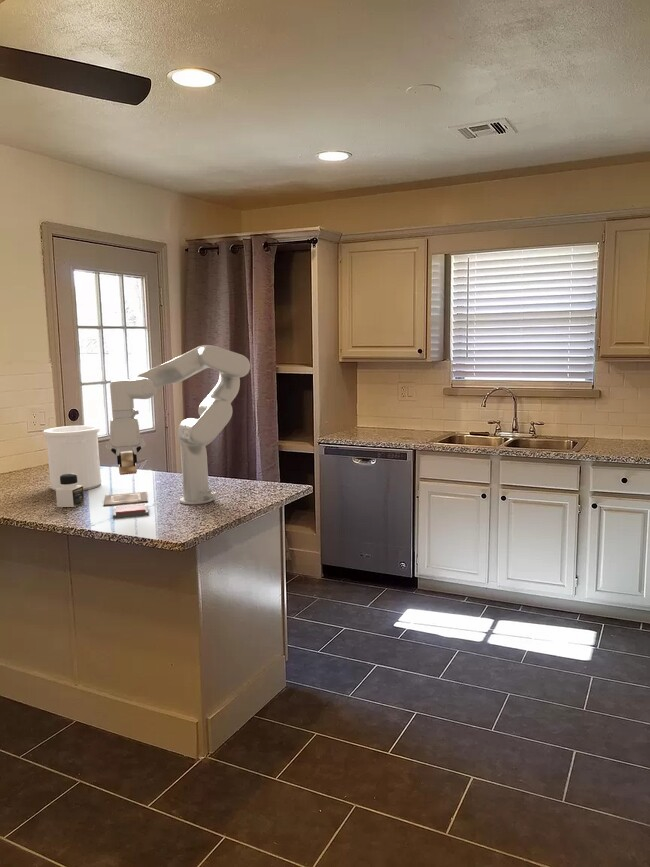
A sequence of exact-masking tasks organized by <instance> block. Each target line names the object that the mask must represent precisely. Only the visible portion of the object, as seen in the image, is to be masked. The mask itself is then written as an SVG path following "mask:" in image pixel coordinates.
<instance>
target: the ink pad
mask: <svg viewBox="0 0 650 867" xmlns="http://www.w3.org/2000/svg"><path fill="white" fill-rule="evenodd" d="M149 512H150V511H149V506H148V505H146V504H145V503H140V504H132V505H131V504H129V505H122V506H121V505H119V506H116V507H115V508H114V507H113V512H112V519H113V518H116V519H125V517H126V518H135V517H136V516H137V517H145V515H147V516H150V514H149Z"/></svg>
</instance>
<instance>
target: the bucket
mask: <svg viewBox="0 0 650 867" xmlns="http://www.w3.org/2000/svg"><path fill="white" fill-rule="evenodd" d="M99 432H100V426H97V425H89V424H88V425H83V424H82V425H68V426H67V425H66V426H58V427H52V428H47V429H44V430H43V432H42V434H43V436H44V437H45V438H46V450H47V461H48V462H47V463H48V472H49V484H50V485H49V486H50V488H51V490H52V491H54V492H56V489H57V488H60V487H62V486H61V484H60V476H61V475H63V474H76V475H77V482H78V484H77V485H82V486H83V491H87V490H92V489H95V488H98V487H99V486H100V485H101V484H102V477H101V476H102V475H101V464H100V463H101V462H100V450H99V449H100V448H99V439H98V437H99V436H98V433H99Z"/></svg>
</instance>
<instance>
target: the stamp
mask: <svg viewBox="0 0 650 867" xmlns="http://www.w3.org/2000/svg"><path fill="white" fill-rule="evenodd" d="M120 455H121V463H122V466H121V467H120V464H118V471H119V472H118V474H119V476H122V475H123V476H124V475H135V474H137V473H138V468H137V463H135V466H134V465H133V450H125V451H120Z"/></svg>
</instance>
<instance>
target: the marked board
mask: <svg viewBox="0 0 650 867" xmlns="http://www.w3.org/2000/svg"><path fill="white" fill-rule="evenodd" d="M147 492H148V491H141V492H140V491H139V492H130V493H127V492H126V493H118V494H108V495H107V494H106V495H104V500H103V507H111V506H110V505H113V506H121V505H122V506H124V505H131V504H132V505H135V504H145V503H148V502H149V501H148V493H147ZM144 502H145V503H144ZM123 504H124V505H123Z"/></svg>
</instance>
